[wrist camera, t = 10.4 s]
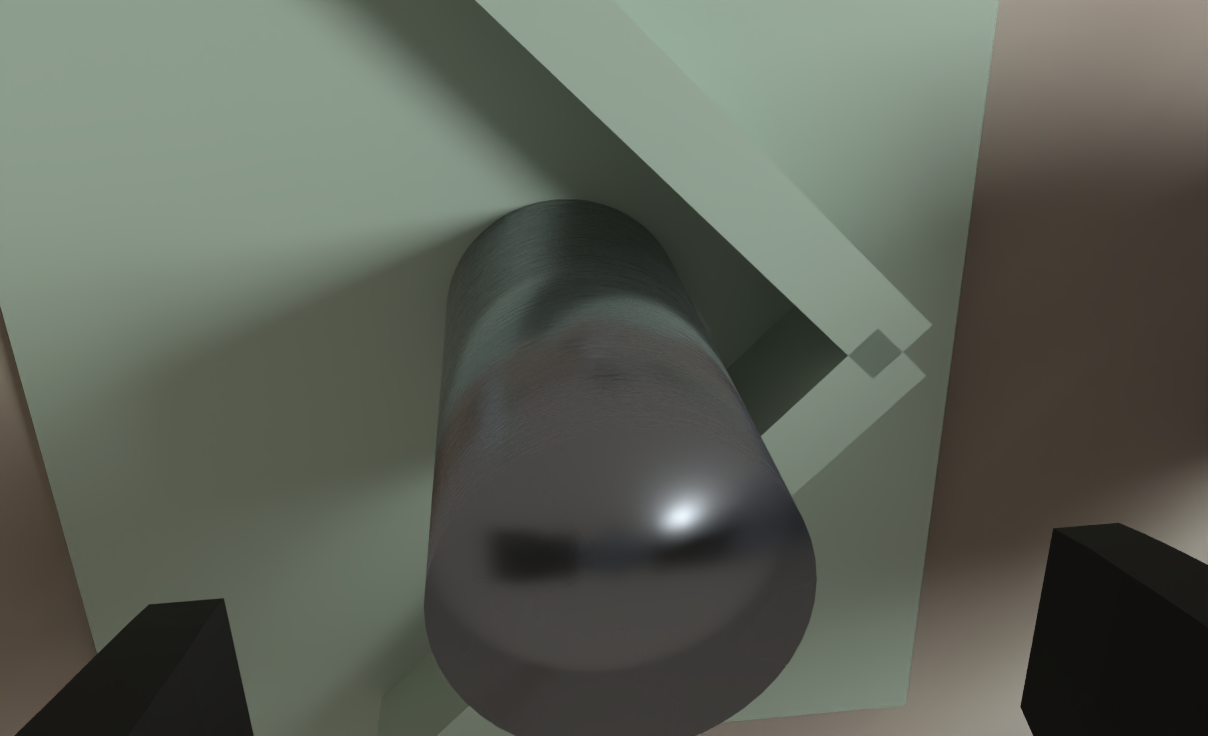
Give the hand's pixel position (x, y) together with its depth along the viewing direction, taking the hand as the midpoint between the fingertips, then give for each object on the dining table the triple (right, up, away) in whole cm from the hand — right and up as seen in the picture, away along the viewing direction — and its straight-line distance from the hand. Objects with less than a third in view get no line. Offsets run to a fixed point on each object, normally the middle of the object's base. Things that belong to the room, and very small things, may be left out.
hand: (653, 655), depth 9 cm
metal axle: (-1, +3, +9) cm, 9 cm away
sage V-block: (-2, +4, +9) cm, 10 cm away
